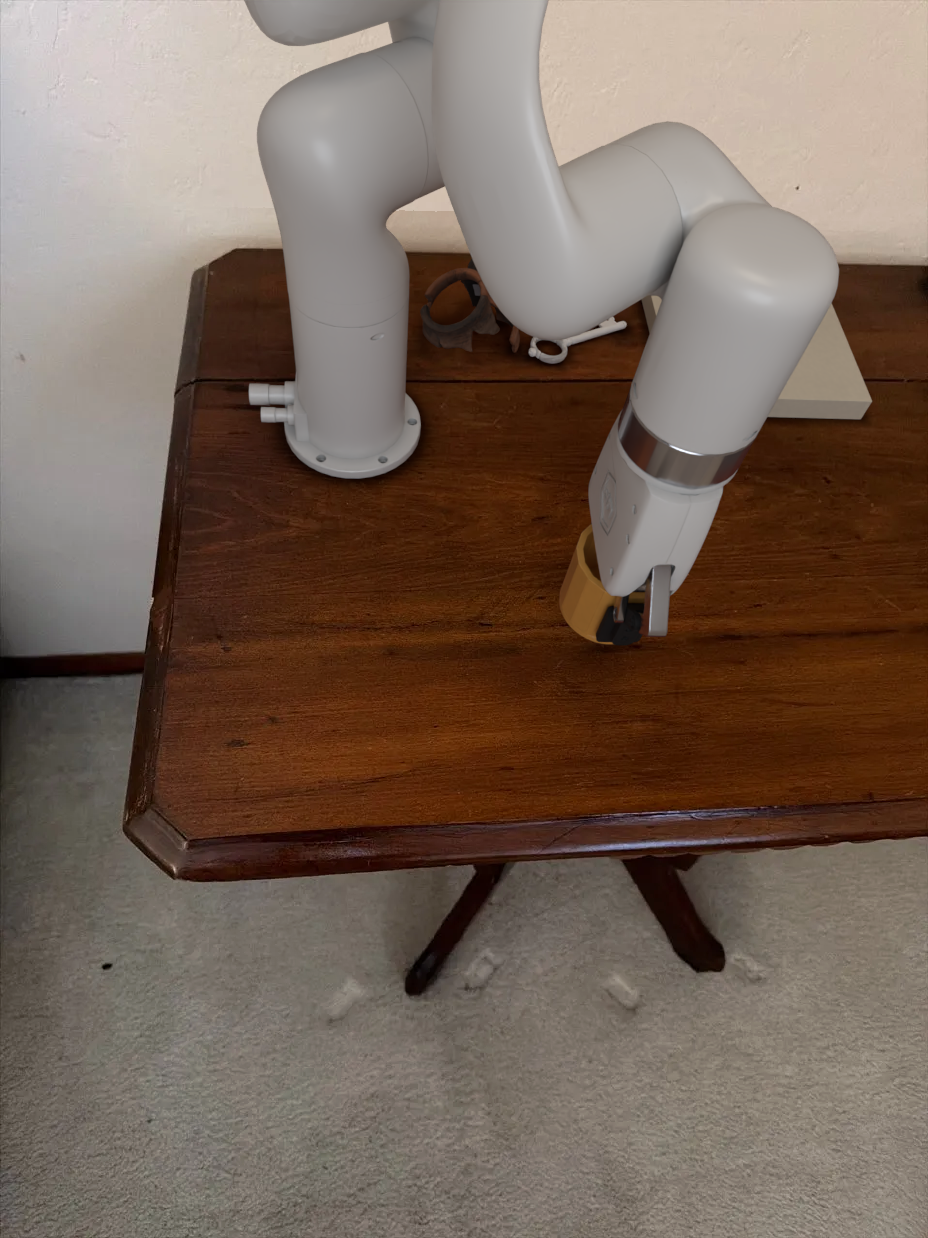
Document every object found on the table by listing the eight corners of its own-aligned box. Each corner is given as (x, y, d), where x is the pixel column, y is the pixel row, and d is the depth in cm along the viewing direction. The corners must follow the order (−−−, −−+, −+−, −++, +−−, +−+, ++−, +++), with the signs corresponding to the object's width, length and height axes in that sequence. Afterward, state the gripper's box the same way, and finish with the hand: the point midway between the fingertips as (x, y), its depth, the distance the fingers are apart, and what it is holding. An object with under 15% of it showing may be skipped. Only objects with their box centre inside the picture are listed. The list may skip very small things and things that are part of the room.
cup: (563, 644, 65) (583, 597, 59) (554, 565, 68) (571, 514, 63) (655, 645, 66) (683, 599, 60) (641, 567, 69) (666, 517, 64)
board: (668, 414, 87) (676, 395, 85) (640, 295, 97) (646, 276, 95) (860, 419, 89) (872, 401, 87) (814, 302, 99) (823, 283, 97)
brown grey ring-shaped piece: (524, 377, 89) (494, 328, 82) (439, 391, 93) (404, 345, 86) (532, 278, 93) (504, 223, 85) (450, 295, 96) (417, 244, 89)
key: (518, 344, 91) (539, 370, 89) (519, 336, 90) (540, 362, 88) (614, 315, 94) (636, 340, 93) (616, 308, 94) (638, 332, 92)
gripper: (602, 320, 55) (548, 499, 70) (645, 550, 46) (573, 698, 61) (718, 326, 55) (640, 502, 71) (782, 553, 47) (677, 699, 62)
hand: (609, 592), depth 66 cm, fingers closed on cup, 7 cm apart
